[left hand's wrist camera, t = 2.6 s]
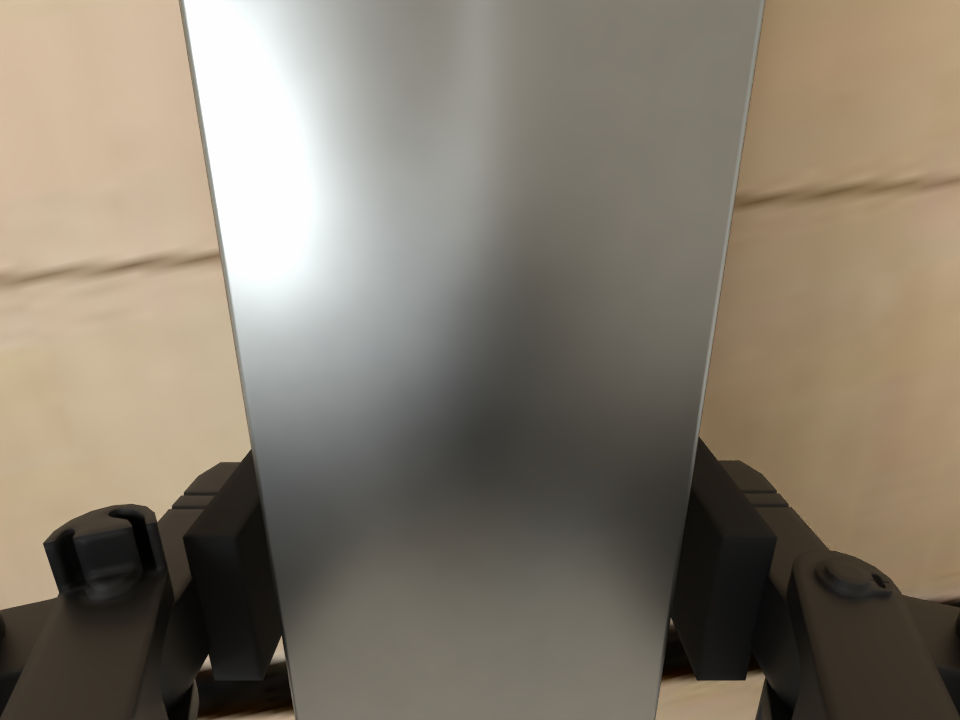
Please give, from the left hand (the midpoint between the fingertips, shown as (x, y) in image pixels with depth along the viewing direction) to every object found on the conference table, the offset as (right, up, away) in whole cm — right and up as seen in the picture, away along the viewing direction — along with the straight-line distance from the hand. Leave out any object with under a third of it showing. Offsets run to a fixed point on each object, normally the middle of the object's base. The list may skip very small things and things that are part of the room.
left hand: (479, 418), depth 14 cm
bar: (0, +8, -2) cm, 9 cm away
